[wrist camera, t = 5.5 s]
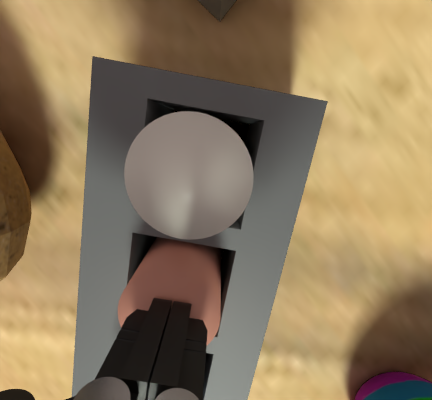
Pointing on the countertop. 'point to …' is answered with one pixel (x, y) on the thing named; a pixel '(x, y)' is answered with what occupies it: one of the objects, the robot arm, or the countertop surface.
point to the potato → (12, 210)
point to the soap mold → (217, 7)
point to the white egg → (188, 175)
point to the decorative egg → (395, 387)
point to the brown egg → (177, 281)
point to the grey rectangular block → (228, 239)
